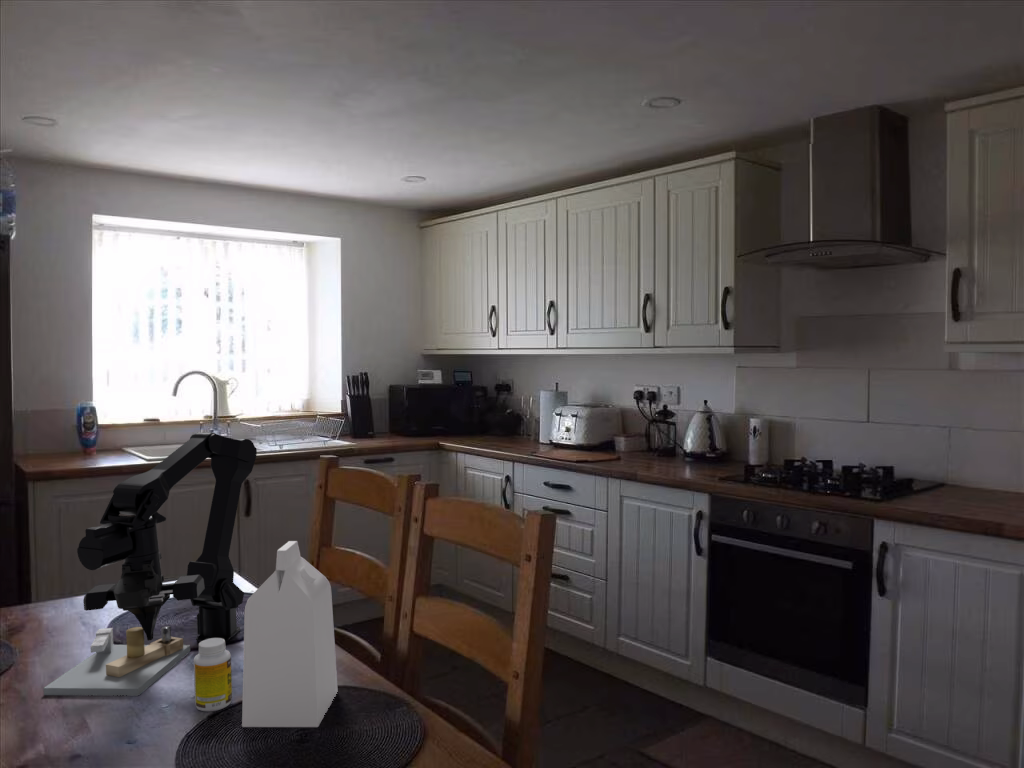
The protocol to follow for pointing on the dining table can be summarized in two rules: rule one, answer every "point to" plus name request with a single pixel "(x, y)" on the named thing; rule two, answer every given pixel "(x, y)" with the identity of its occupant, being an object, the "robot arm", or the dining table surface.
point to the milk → (289, 646)
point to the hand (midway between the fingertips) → (150, 639)
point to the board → (95, 681)
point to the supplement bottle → (212, 675)
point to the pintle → (166, 634)
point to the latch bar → (141, 652)
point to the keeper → (103, 641)
